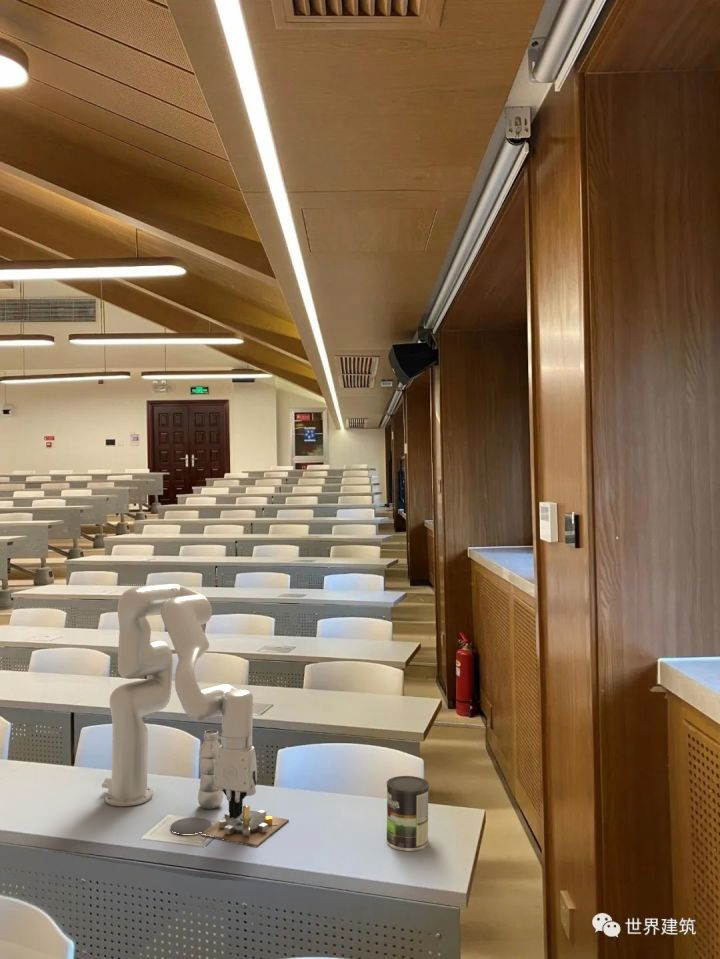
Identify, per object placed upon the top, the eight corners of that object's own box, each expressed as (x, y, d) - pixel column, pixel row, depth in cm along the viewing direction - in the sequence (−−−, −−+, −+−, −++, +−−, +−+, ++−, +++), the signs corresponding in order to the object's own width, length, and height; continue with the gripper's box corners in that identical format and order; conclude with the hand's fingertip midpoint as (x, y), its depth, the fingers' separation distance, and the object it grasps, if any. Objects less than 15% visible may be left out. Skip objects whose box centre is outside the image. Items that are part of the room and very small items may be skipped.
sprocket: (236, 841, 176) (236, 814, 177) (209, 823, 187) (210, 798, 187) (282, 826, 185) (282, 801, 185) (254, 810, 195) (254, 786, 195)
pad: (162, 831, 183) (162, 829, 183) (186, 816, 193) (186, 814, 193) (195, 838, 180) (195, 836, 180) (218, 823, 189) (218, 821, 189)
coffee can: (396, 854, 172) (396, 793, 173) (379, 836, 182) (380, 778, 182) (436, 847, 176) (436, 787, 176) (417, 830, 185) (417, 773, 186)
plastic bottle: (217, 812, 195) (218, 736, 196) (193, 810, 197) (194, 734, 198) (226, 803, 202) (227, 729, 203) (203, 801, 203) (204, 727, 204)
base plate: (200, 835, 181) (200, 832, 181) (235, 811, 196) (235, 808, 196) (257, 847, 175) (257, 844, 175) (288, 821, 190) (288, 818, 190)
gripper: (202, 741, 183) (201, 816, 182) (255, 749, 177) (253, 827, 176) (219, 733, 190) (218, 806, 189) (270, 740, 184) (269, 815, 183)
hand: (235, 816), depth 183 cm, fingers closed
